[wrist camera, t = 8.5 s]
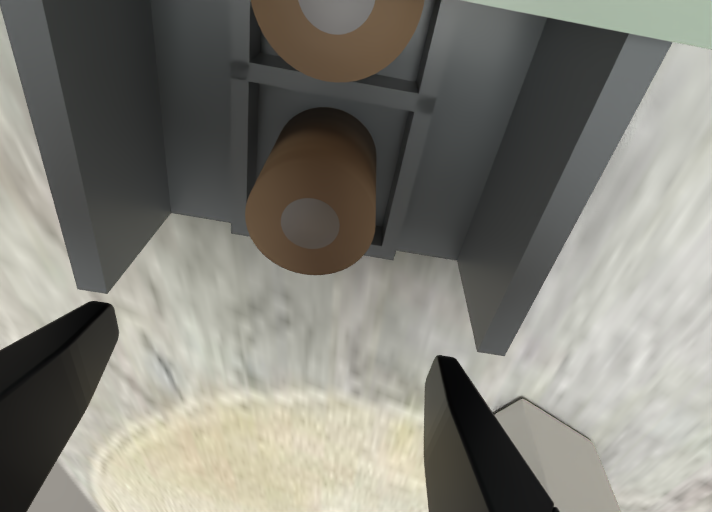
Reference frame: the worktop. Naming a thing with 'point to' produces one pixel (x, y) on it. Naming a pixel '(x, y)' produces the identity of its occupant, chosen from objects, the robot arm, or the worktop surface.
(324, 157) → the brown sleeve
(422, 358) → the worktop surface
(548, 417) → the milk carton
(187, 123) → the housing
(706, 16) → the lid
